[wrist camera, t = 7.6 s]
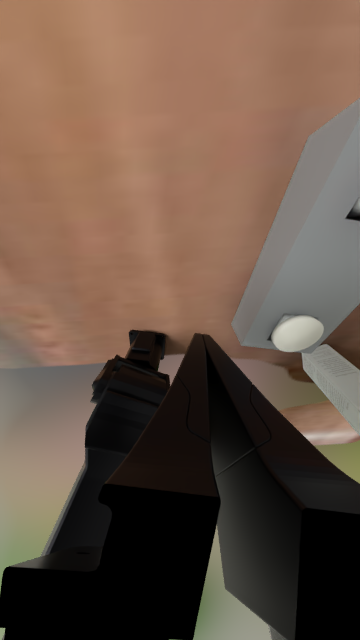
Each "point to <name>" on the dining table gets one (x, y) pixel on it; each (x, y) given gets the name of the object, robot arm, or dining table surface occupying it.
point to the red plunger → (355, 209)
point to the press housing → (310, 241)
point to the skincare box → (336, 381)
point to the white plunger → (296, 332)
